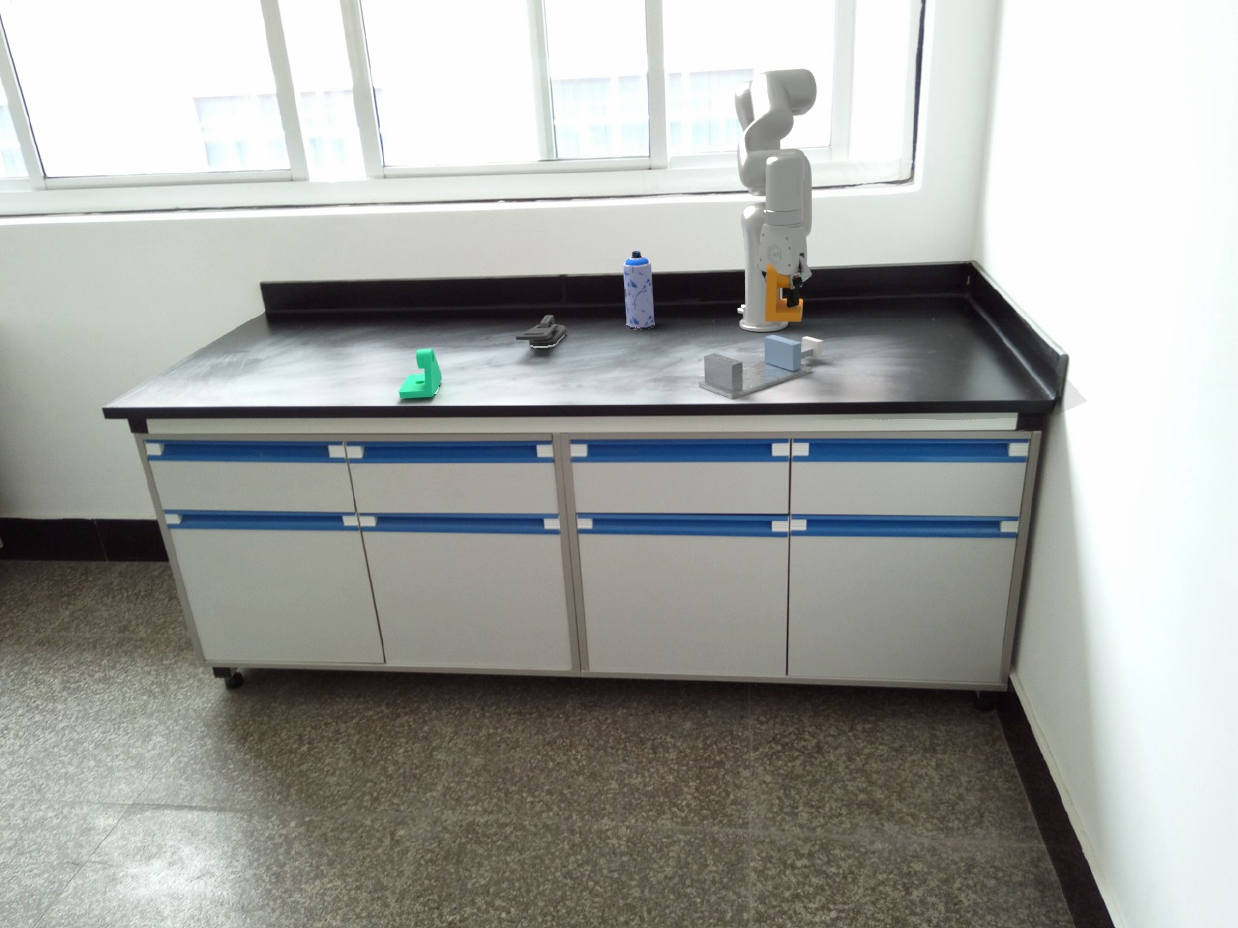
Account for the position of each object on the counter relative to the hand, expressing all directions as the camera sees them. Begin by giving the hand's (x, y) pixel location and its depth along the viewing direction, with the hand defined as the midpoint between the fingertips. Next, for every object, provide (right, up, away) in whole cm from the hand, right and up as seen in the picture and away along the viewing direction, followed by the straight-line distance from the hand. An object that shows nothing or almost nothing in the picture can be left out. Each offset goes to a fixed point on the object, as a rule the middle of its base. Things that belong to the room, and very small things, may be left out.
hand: (783, 303), depth 194 cm
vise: (-5, -16, +8) cm, 18 cm away
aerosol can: (-29, +3, +53) cm, 61 cm away
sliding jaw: (+6, -11, +14) cm, 18 cm away
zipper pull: (-55, -4, +41) cm, 69 cm away
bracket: (0, -3, +1) cm, 3 cm away
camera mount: (-81, -18, +15) cm, 84 cm away
